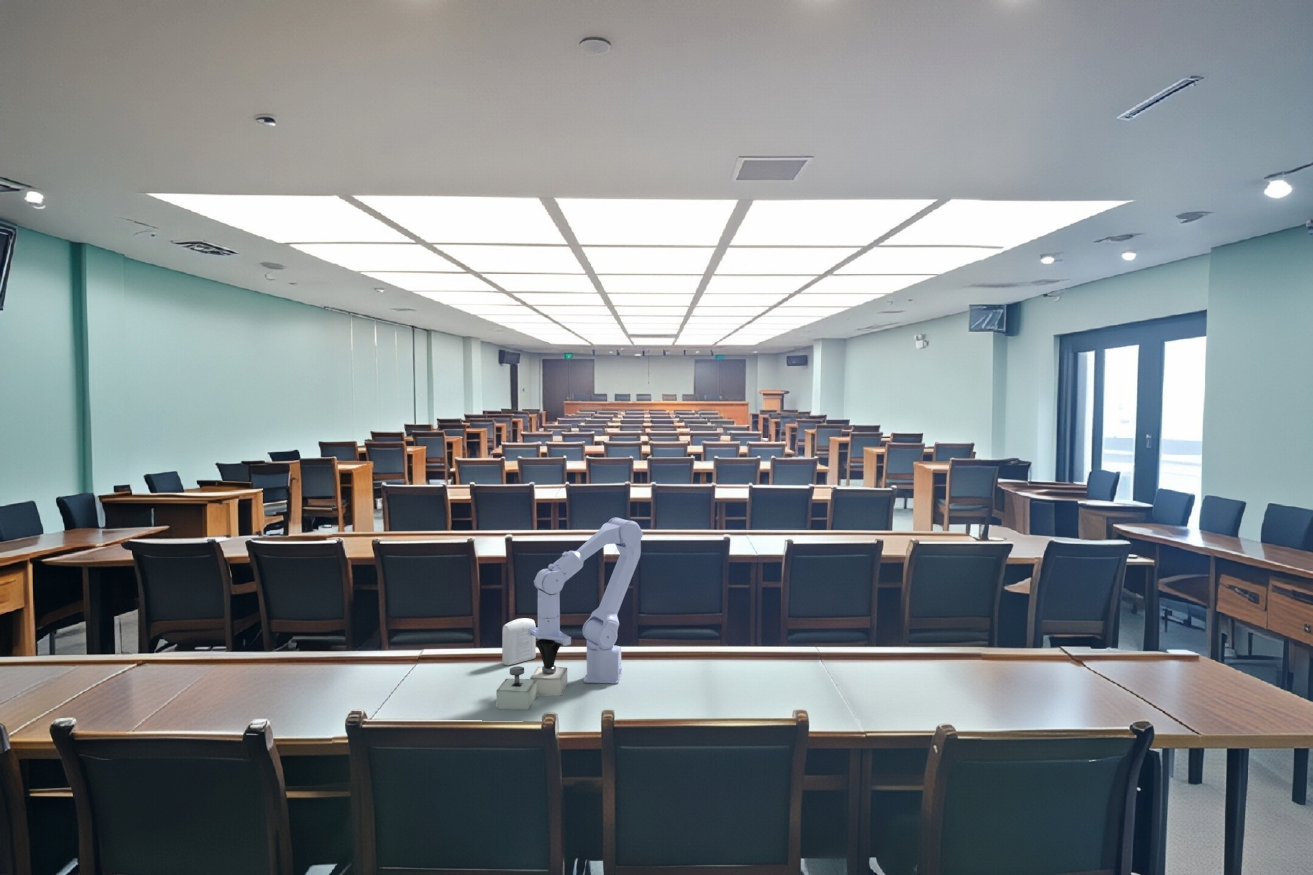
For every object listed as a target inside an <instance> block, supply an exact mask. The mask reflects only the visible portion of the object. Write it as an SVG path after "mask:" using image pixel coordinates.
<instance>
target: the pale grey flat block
mask: <svg viewBox="0 0 1313 875" xmlns="http://www.w3.org/2000/svg"><path fill="white" fill-rule="evenodd" d="M513 685H515V678H505V679H504V681H502V683H501V684H500V686H499V687H498V688H497V689H496V690H495V691H496V700H495V701H496V709H497V710H523V711H524V710H525V711H526V710H528V711H529V709H530V708H531V707H532V705H533V703H534V702H535V701H536V699H537V698H538V695H537V679H530V678H519V685H521V687H512V686H513Z"/></svg>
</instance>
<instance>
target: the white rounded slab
mask: <svg viewBox="0 0 1313 875" xmlns="http://www.w3.org/2000/svg"><path fill="white" fill-rule="evenodd" d="M535 622H536V621H535V620H534V619H532V618H526V617H524V618H523V617H521V618H516V619H514V620H511V621H509V622H507V623H505V624H504V625H503V626H502V633H501V634H502V644H501V645H502V649H501V652H502V653H501V654H502V658H501V659H502V664H503V665H505V666H512V665H515V664H519V663H523V662H526V661H531V660H534V659H535V658H536V654H537V653H536V652H537V650H536V647H537V646H536V641H537V640H536V639H537V638H535V636H528V628H531V627H536V623H535Z"/></svg>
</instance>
